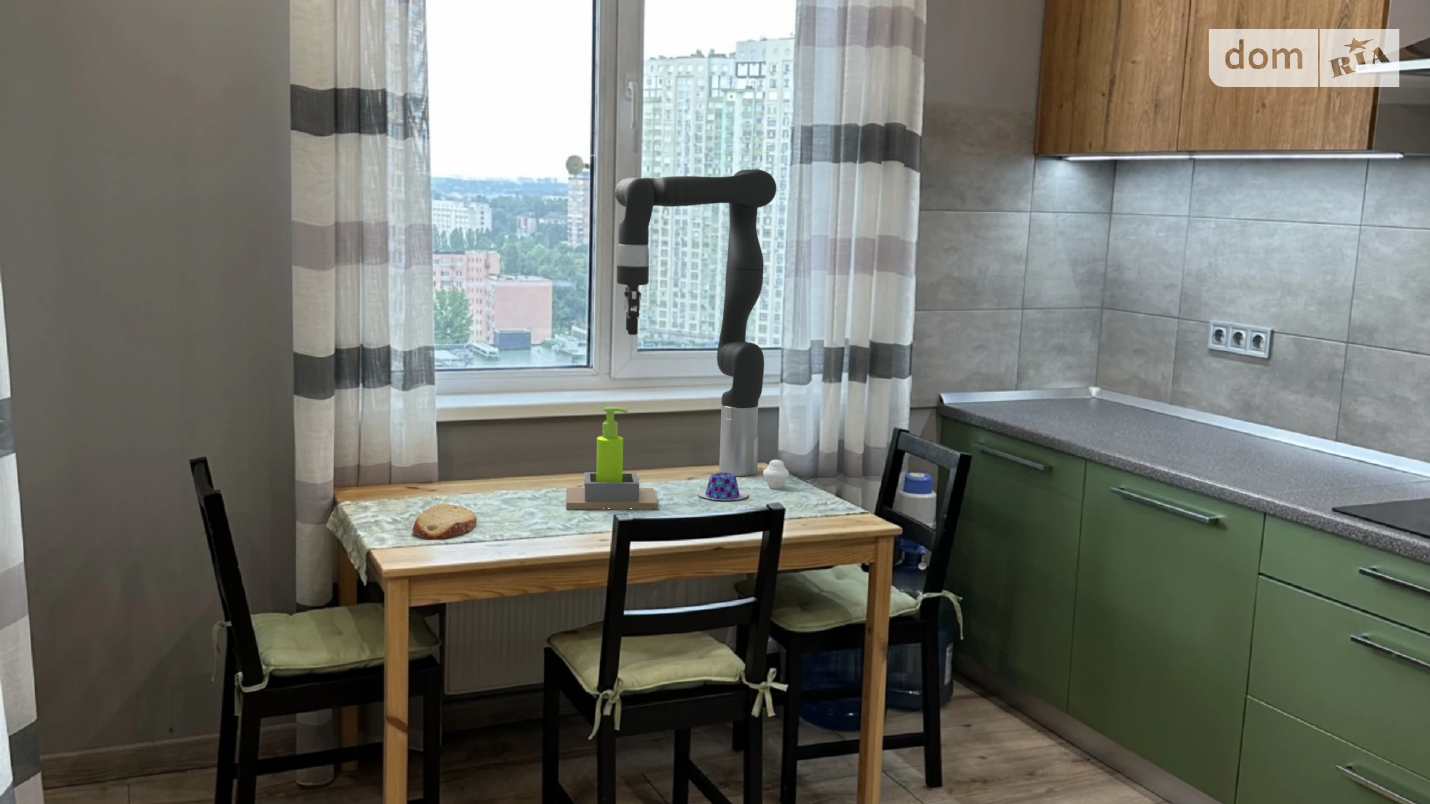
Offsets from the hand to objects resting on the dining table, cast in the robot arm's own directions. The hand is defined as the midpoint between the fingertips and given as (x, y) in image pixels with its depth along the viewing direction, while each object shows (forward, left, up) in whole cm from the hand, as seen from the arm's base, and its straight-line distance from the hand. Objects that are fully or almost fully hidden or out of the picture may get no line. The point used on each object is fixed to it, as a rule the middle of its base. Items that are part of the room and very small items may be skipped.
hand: (631, 332), depth 292 cm
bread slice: (+40, +40, -37) cm, 68 cm away
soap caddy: (+5, +20, -36) cm, 42 cm away
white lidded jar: (-35, +6, -36) cm, 51 cm away
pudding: (-21, +14, -37) cm, 45 cm away
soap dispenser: (+5, +20, -35) cm, 40 cm away
